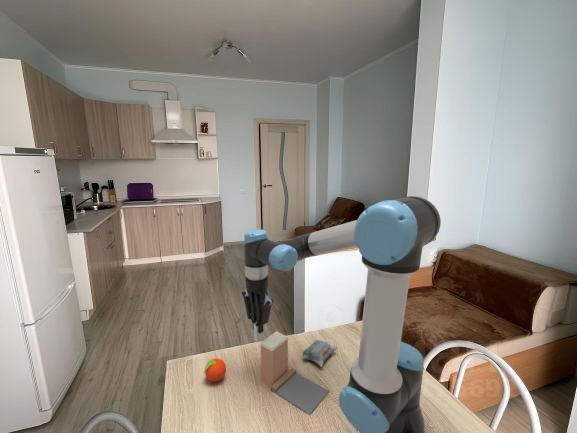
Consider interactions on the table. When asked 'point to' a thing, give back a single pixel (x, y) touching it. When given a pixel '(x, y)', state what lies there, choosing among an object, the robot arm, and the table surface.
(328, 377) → the table surface
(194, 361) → the table surface
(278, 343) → the terracotta block
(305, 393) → the mat
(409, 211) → the robot arm
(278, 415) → the table surface
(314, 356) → the packaged food
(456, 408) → the table surface
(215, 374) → the clementine
